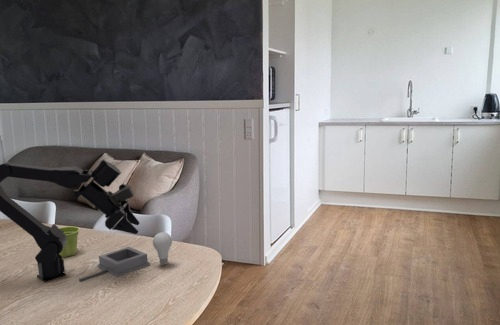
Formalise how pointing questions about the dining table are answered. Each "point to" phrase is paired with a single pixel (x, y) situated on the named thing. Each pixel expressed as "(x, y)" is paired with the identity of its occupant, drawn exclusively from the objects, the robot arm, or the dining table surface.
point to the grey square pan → (120, 262)
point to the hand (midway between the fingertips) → (138, 228)
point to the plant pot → (70, 241)
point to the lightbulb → (162, 246)
